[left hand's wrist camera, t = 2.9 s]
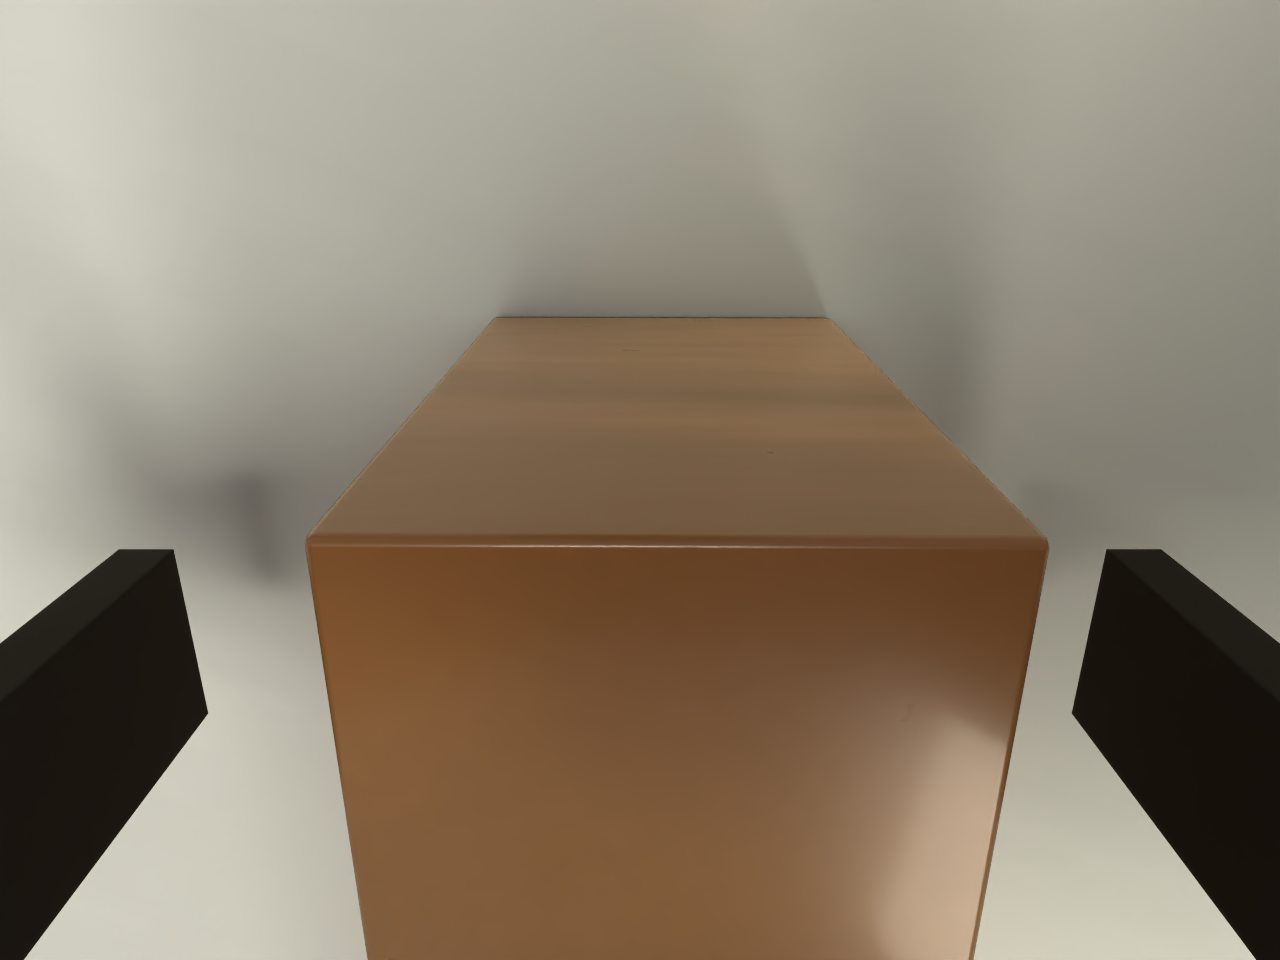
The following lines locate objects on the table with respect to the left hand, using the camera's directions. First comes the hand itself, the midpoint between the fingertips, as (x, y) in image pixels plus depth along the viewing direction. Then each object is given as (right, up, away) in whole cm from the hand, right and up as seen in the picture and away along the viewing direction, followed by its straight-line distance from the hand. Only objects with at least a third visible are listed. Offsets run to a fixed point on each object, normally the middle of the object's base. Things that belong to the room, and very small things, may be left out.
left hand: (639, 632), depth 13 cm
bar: (0, -7, +6) cm, 10 cm away
